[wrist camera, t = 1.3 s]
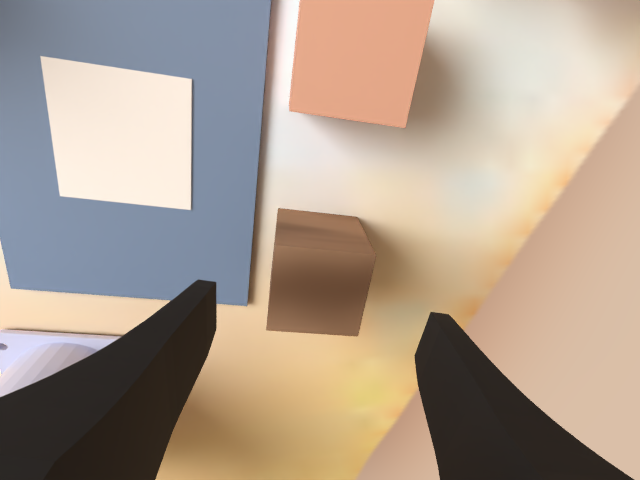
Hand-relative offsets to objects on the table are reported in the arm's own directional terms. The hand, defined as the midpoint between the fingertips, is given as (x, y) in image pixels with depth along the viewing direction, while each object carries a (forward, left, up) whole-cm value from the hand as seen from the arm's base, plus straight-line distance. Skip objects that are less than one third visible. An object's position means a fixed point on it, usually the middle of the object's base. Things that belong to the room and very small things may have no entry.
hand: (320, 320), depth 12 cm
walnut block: (-2, -1, -9) cm, 9 cm away
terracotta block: (+8, -1, -9) cm, 13 cm away
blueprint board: (+3, +9, -9) cm, 14 cm away
